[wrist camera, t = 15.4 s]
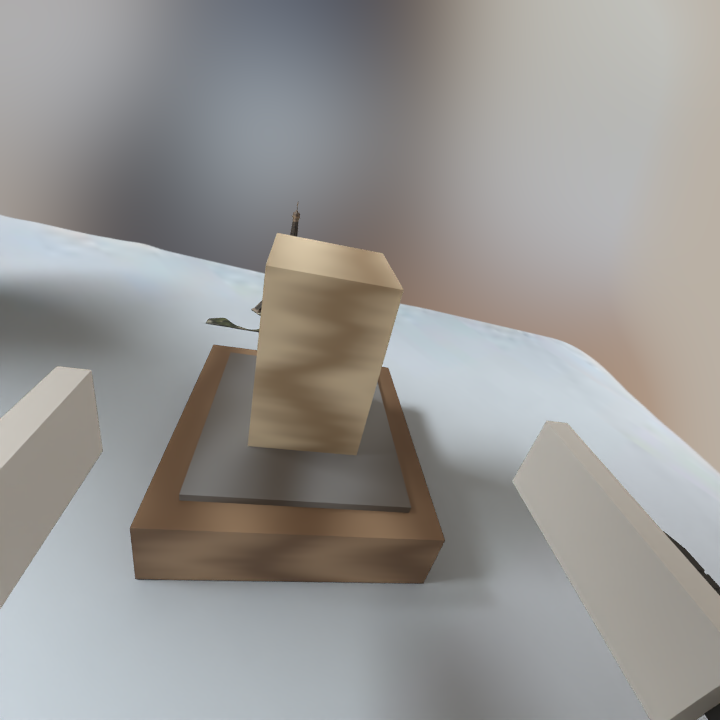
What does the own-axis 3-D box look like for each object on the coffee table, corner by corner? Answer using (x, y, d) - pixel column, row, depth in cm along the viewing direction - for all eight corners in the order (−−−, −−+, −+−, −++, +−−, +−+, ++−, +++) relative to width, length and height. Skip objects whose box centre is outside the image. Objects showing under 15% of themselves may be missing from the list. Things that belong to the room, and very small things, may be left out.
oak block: (247, 446, 21) (265, 265, 16) (260, 383, 26) (277, 232, 21) (356, 455, 22) (403, 289, 17) (348, 393, 27) (382, 253, 22)
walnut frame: (135, 579, 18) (129, 521, 16) (212, 383, 31) (213, 340, 29) (423, 583, 20) (447, 535, 19) (378, 402, 34) (389, 363, 32)
